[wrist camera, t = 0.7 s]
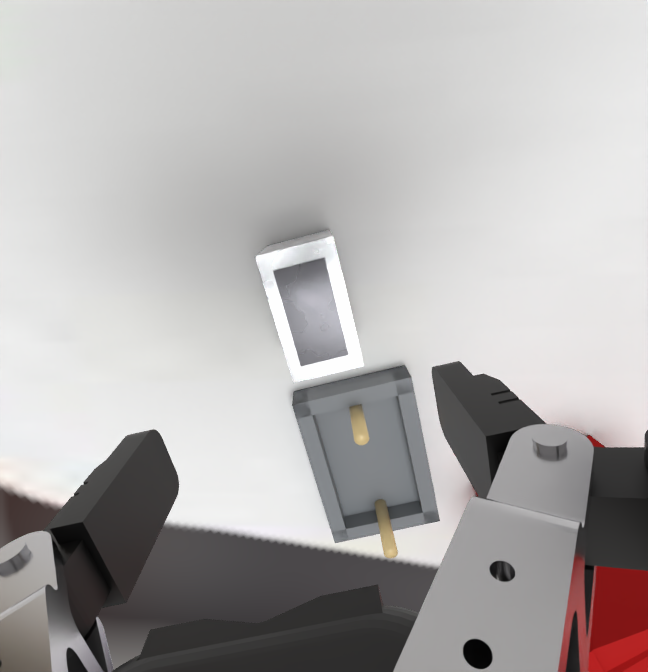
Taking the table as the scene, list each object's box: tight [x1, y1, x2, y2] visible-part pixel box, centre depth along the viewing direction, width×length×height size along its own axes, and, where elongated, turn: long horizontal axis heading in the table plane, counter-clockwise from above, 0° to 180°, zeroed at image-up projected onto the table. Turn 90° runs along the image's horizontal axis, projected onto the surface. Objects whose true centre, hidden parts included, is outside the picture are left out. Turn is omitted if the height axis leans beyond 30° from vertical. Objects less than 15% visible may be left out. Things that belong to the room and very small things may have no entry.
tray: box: [292, 366, 440, 558], centre depth 30 cm, size 9×13×6 cm, turn 14°
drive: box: [255, 230, 364, 383], centre depth 26 cm, size 4×8×6 cm, turn 14°
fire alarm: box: [475, 435, 648, 672], centre depth 29 cm, size 16×11×15 cm
